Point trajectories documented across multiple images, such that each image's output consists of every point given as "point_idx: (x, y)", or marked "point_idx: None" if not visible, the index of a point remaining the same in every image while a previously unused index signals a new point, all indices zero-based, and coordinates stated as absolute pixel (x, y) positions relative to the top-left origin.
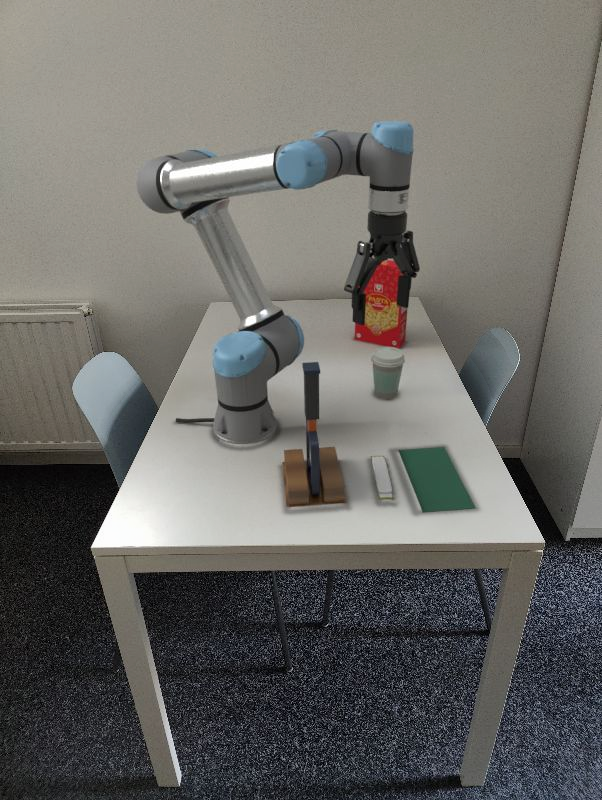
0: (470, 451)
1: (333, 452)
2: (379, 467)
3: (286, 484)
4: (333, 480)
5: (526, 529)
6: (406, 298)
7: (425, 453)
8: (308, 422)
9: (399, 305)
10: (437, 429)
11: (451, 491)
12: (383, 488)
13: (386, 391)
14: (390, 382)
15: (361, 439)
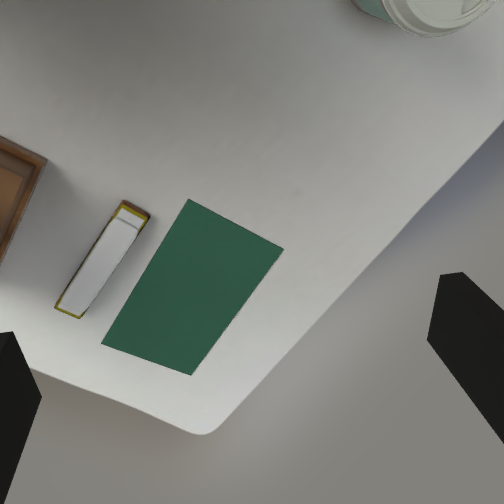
0: (309, 282)
1: (6, 196)
2: (106, 253)
3: None
4: None
5: (213, 423)
6: (462, 387)
7: (237, 244)
8: None
9: (436, 300)
10: (327, 198)
11: (189, 337)
12: (72, 301)
13: (361, 5)
14: (379, 16)
15: (158, 121)
